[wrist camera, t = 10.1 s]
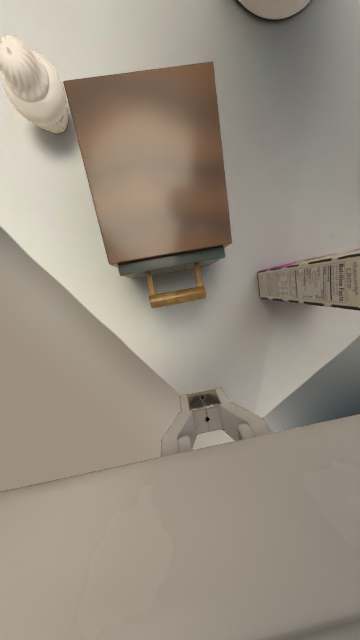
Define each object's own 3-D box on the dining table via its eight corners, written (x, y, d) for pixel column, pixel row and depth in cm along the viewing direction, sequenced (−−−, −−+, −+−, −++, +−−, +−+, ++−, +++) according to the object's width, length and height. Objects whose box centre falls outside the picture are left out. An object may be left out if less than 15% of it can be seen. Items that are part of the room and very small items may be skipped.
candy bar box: (318, 255, 29) (511, 216, 13) (319, 285, 30) (499, 284, 14) (254, 270, 28) (369, 249, 12) (258, 299, 29) (368, 315, 13)
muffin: (79, 95, 22) (40, 10, 15) (79, 150, 23) (43, 94, 16) (28, 85, 22) (-36, -8, 15) (31, 141, 23) (-28, 80, 16)
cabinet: (209, 257, 27) (232, 242, 18) (129, 271, 27) (109, 264, 18) (195, 147, 24) (213, 60, 15) (103, 161, 24) (62, 80, 14)
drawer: (212, 293, 28) (229, 295, 20) (139, 306, 27) (129, 314, 20) (194, 162, 24) (207, 104, 16) (110, 175, 23) (82, 122, 16)
